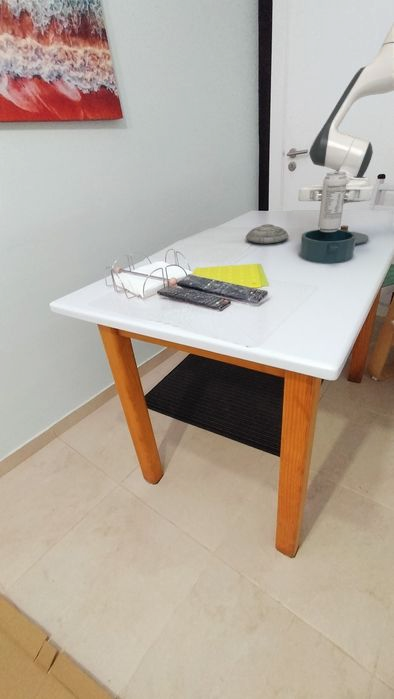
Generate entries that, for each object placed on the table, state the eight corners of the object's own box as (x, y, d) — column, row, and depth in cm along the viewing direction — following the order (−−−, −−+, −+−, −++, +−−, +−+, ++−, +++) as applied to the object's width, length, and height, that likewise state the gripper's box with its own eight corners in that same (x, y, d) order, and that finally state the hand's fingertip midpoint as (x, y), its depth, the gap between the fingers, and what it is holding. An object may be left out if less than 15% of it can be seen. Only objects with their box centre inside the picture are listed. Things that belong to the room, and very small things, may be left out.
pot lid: (361, 233, 119) (363, 220, 116) (374, 246, 106) (377, 231, 103) (314, 235, 122) (316, 221, 119) (321, 247, 108) (323, 233, 106)
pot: (344, 245, 109) (347, 226, 106) (360, 265, 92) (364, 243, 89) (297, 246, 111) (298, 227, 108) (304, 267, 95) (306, 245, 91)
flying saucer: (239, 245, 118) (239, 228, 115) (252, 234, 129) (253, 219, 126) (282, 247, 112) (283, 230, 109) (292, 235, 123) (293, 220, 120)
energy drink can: (337, 227, 100) (346, 170, 92) (340, 232, 95) (350, 173, 87) (316, 227, 102) (323, 172, 94) (318, 232, 97) (325, 174, 89)
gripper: (302, 179, 106) (295, 185, 95) (374, 177, 98) (375, 184, 88) (300, 200, 109) (293, 209, 99) (370, 200, 102) (370, 209, 91)
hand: (332, 197), depth 93 cm, fingers closed on energy drink can, 6 cm apart
